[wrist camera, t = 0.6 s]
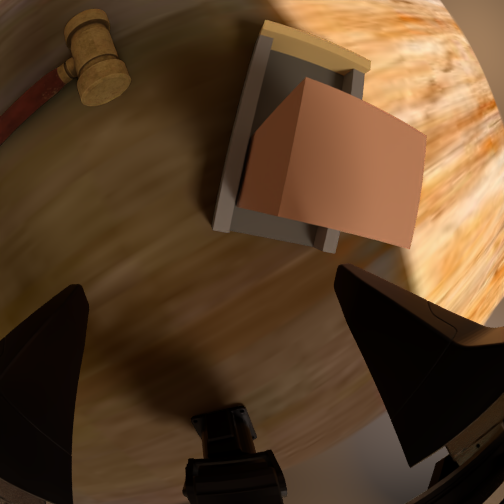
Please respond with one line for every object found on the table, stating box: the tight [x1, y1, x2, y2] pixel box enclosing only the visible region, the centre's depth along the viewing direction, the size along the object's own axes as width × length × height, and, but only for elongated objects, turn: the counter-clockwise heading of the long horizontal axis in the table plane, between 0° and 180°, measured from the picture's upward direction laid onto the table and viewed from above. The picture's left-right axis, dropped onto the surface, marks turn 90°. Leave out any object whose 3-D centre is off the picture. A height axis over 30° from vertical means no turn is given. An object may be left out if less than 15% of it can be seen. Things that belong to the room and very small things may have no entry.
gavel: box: [0, 9, 131, 145], centre depth 16 cm, size 21×5×10 cm
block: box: [236, 77, 427, 249], centre depth 16 cm, size 6×7×12 cm
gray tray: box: [211, 20, 371, 253], centre depth 21 cm, size 18×10×4 cm, turn 168°
